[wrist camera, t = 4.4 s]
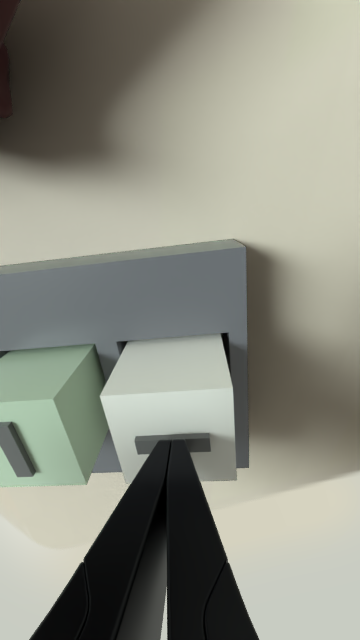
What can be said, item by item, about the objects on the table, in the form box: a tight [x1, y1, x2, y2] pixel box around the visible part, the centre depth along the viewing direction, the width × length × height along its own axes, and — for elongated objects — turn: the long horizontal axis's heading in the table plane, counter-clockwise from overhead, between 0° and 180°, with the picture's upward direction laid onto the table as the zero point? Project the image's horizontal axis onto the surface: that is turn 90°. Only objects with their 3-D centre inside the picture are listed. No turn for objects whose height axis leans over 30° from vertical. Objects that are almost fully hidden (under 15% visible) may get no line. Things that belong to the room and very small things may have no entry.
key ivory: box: [100, 333, 237, 484], centre depth 10 cm, size 4×4×4 cm
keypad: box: [0, 239, 249, 473], centre depth 13 cm, size 17×11×3 cm, turn 97°
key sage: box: [0, 343, 109, 487], centre depth 10 cm, size 4×4×4 cm
